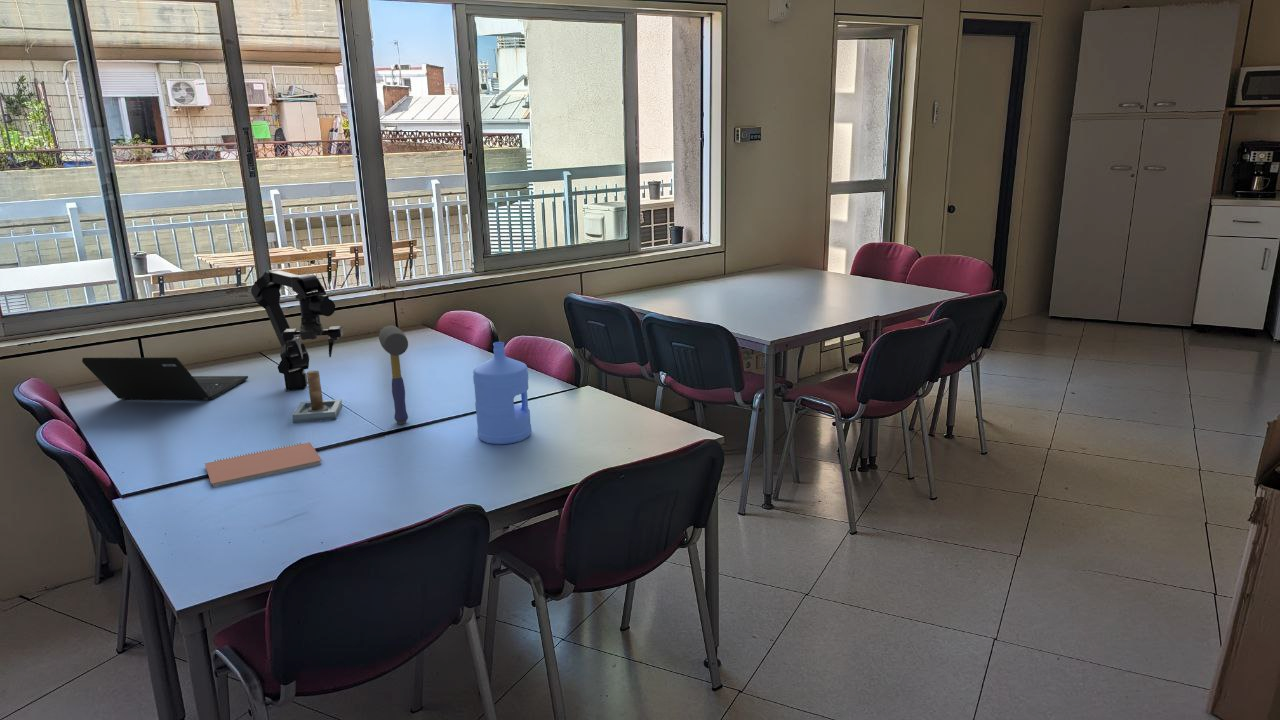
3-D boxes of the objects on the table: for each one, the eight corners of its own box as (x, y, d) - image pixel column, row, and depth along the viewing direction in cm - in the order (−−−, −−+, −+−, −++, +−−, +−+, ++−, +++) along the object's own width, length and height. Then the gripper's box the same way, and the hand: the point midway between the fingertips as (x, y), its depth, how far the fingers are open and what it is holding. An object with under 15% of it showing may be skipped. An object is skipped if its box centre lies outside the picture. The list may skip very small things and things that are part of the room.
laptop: (250, 380, 305) (242, 328, 299) (187, 416, 269) (176, 357, 263) (164, 379, 308) (154, 328, 303) (90, 414, 272) (77, 357, 267)
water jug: (480, 448, 237) (473, 352, 229) (475, 429, 252) (468, 339, 244) (535, 441, 241) (530, 347, 233) (527, 423, 256) (522, 334, 248)
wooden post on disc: (304, 413, 265) (298, 374, 261) (314, 407, 270) (309, 369, 267) (321, 414, 264) (315, 375, 260) (331, 408, 269) (326, 369, 265)
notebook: (309, 446, 242) (309, 440, 242) (322, 465, 228) (321, 459, 228) (205, 467, 228) (204, 461, 228) (212, 489, 215) (211, 482, 214)
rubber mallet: (386, 418, 262) (375, 325, 254) (410, 414, 265) (401, 322, 257) (392, 431, 251) (382, 334, 243) (418, 427, 254) (408, 331, 246)
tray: (293, 422, 260) (292, 415, 259) (301, 409, 272) (300, 402, 271) (335, 419, 262) (334, 411, 262) (342, 406, 274) (341, 399, 273)
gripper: (274, 319, 269) (281, 366, 274) (335, 316, 272) (341, 362, 277) (282, 312, 280) (288, 357, 284) (340, 309, 283) (346, 353, 287)
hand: (316, 357), depth 283 cm, fingers open, 9 cm apart
